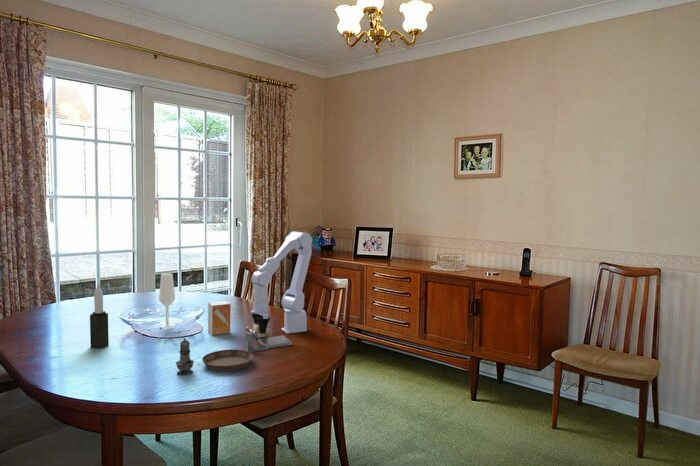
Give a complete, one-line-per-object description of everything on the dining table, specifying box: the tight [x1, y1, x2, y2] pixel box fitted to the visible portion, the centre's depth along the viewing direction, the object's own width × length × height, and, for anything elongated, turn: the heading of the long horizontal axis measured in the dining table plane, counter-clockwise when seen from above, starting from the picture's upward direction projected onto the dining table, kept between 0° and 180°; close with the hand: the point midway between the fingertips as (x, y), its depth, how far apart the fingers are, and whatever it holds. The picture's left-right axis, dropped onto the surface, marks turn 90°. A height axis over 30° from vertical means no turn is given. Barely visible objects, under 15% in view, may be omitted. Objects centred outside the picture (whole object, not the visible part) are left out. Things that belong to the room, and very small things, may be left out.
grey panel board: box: [245, 331, 293, 353], centre depth 193 cm, size 19×12×7 cm, turn 118°
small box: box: [207, 300, 232, 336], centre depth 208 cm, size 8×6×13 cm
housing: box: [252, 323, 269, 339], centre depth 203 cm, size 5×5×6 cm
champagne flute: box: [158, 272, 176, 327], centre depth 214 cm, size 7×7×24 cm
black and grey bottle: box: [89, 282, 110, 350], centre depth 186 cm, size 5×5×25 cm
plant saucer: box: [201, 348, 254, 372], centre depth 171 cm, size 18×18×3 cm
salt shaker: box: [175, 337, 195, 377], centre depth 161 cm, size 6×6×12 cm
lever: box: [245, 326, 259, 340], centre depth 190 cm, size 2×11×3 cm, turn 28°
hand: (260, 331), depth 203 cm, fingers closed on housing, 5 cm apart
